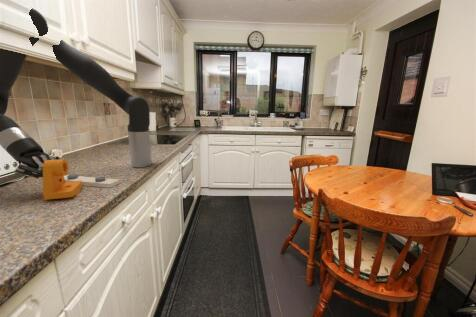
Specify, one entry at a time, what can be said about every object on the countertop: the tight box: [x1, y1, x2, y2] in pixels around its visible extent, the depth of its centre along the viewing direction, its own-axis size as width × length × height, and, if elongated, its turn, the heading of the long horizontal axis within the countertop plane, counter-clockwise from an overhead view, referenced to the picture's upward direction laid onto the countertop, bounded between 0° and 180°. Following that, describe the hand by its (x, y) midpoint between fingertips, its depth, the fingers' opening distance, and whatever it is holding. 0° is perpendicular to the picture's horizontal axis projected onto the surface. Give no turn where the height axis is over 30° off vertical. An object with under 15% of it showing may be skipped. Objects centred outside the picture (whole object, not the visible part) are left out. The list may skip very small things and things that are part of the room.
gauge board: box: [64, 174, 121, 189], centre depth 81 cm, size 5×24×2 cm, turn 81°
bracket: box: [42, 158, 84, 201], centre depth 70 cm, size 11×7×12 cm, turn 20°
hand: (58, 182), depth 71 cm, fingers closed
